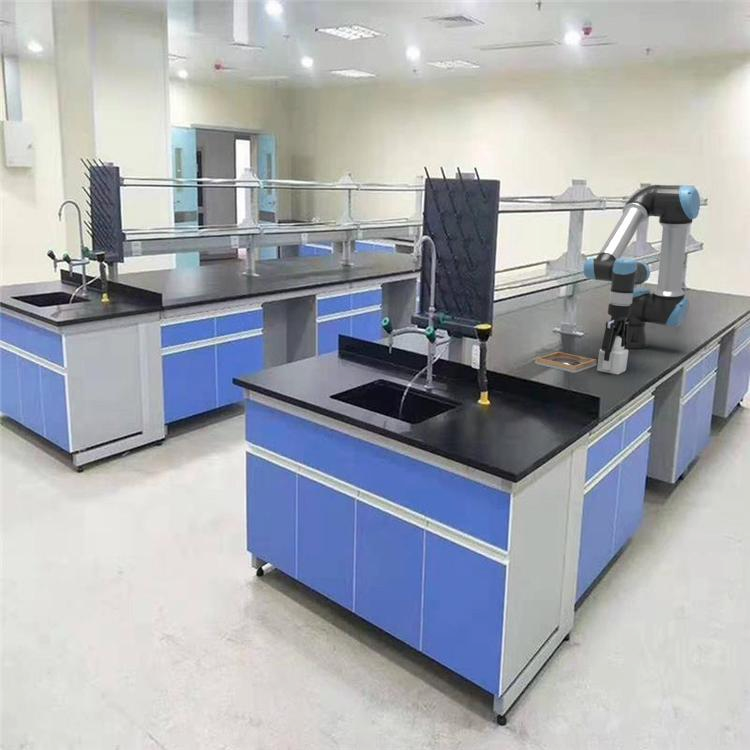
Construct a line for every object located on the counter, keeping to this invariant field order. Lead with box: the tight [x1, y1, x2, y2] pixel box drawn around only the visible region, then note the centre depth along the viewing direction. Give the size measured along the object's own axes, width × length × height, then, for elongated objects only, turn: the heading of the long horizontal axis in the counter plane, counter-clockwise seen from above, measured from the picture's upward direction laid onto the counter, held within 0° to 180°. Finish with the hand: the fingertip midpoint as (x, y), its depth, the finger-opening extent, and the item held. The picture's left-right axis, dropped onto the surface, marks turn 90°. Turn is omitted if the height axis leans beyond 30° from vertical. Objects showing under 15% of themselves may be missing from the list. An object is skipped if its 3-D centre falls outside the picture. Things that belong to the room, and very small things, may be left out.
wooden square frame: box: [534, 351, 598, 374], centre depth 255 cm, size 16×16×2 cm
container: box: [596, 334, 629, 375], centre depth 247 cm, size 8×8×13 cm
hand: (611, 367), depth 249 cm, fingers closed on container, 8 cm apart
